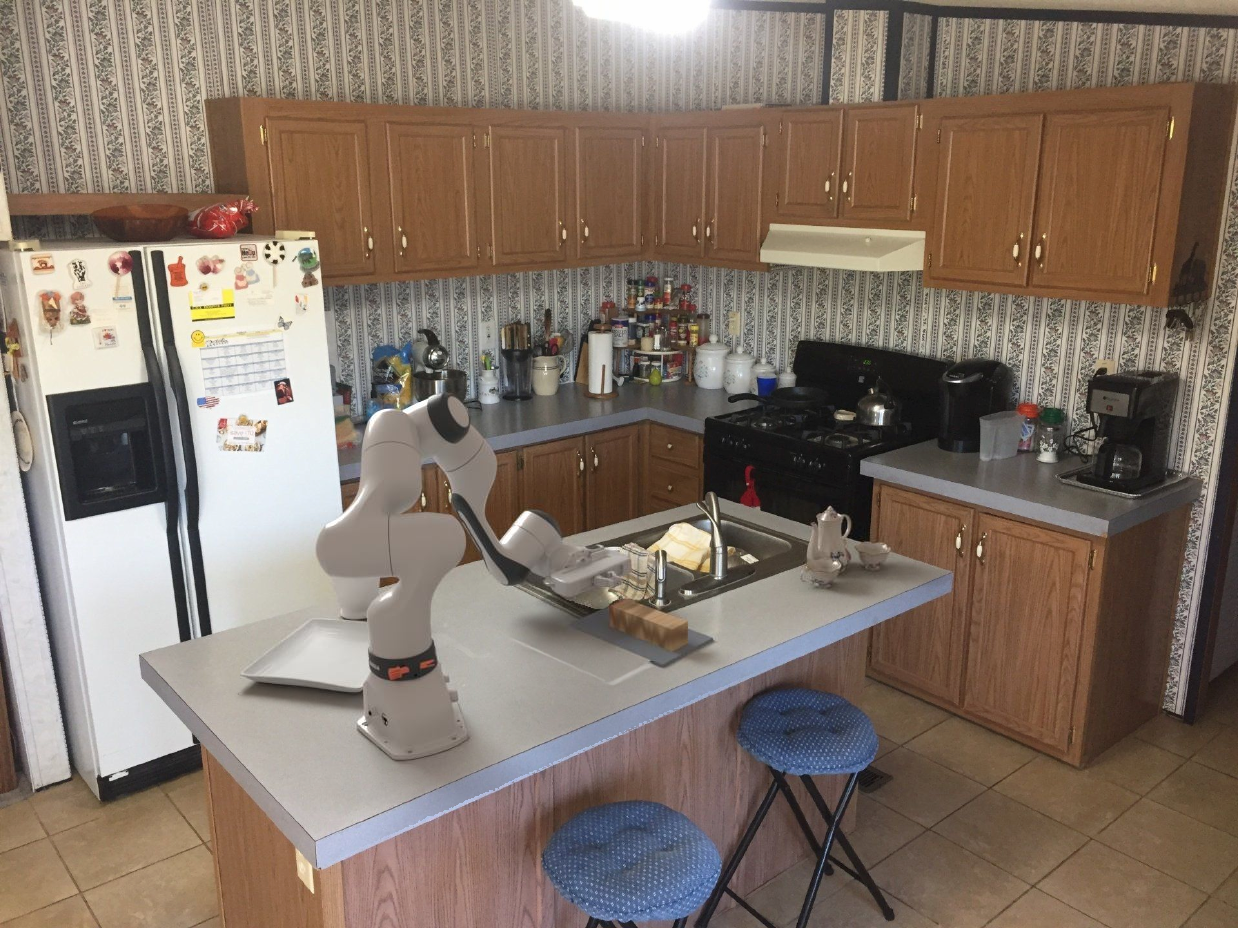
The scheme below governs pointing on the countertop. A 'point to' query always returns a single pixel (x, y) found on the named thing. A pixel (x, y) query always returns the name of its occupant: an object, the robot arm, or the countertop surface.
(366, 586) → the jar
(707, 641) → the mat
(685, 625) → the oak block
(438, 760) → the countertop surface
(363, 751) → the countertop surface
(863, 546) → the chinaware
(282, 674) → the square plate
